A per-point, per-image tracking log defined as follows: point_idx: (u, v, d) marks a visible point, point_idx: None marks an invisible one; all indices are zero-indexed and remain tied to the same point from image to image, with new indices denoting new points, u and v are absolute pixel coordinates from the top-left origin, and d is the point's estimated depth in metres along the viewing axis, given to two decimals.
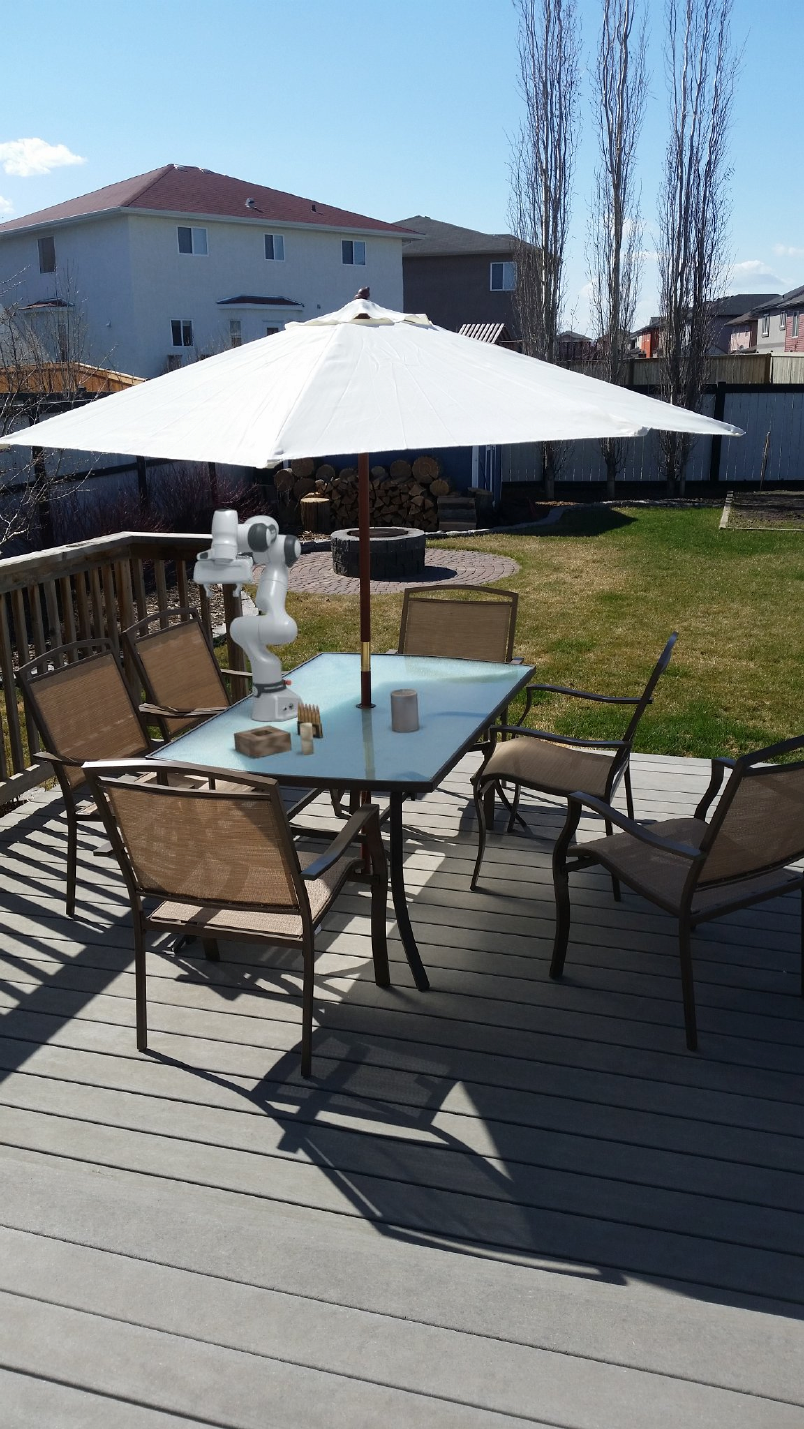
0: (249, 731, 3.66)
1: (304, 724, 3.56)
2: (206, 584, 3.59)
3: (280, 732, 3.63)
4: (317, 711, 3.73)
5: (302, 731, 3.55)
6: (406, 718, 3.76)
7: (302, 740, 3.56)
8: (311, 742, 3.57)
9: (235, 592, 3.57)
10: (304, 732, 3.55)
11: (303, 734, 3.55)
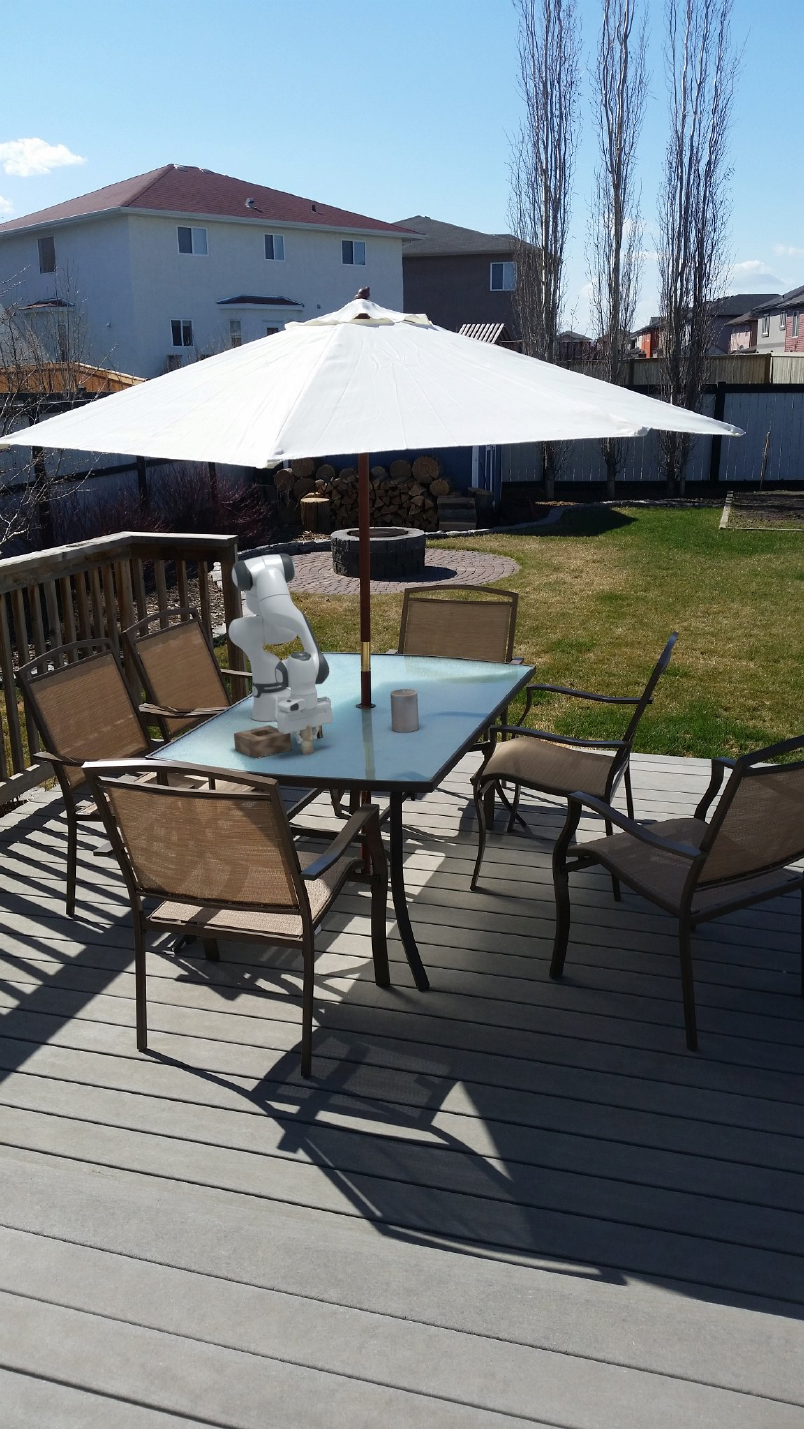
0: (249, 731, 3.66)
1: None
2: (299, 732, 3.54)
3: None
4: None
5: (302, 731, 3.55)
6: (406, 718, 3.76)
7: None
8: (311, 742, 3.57)
9: (315, 736, 3.59)
10: (304, 732, 3.55)
11: (303, 734, 3.55)
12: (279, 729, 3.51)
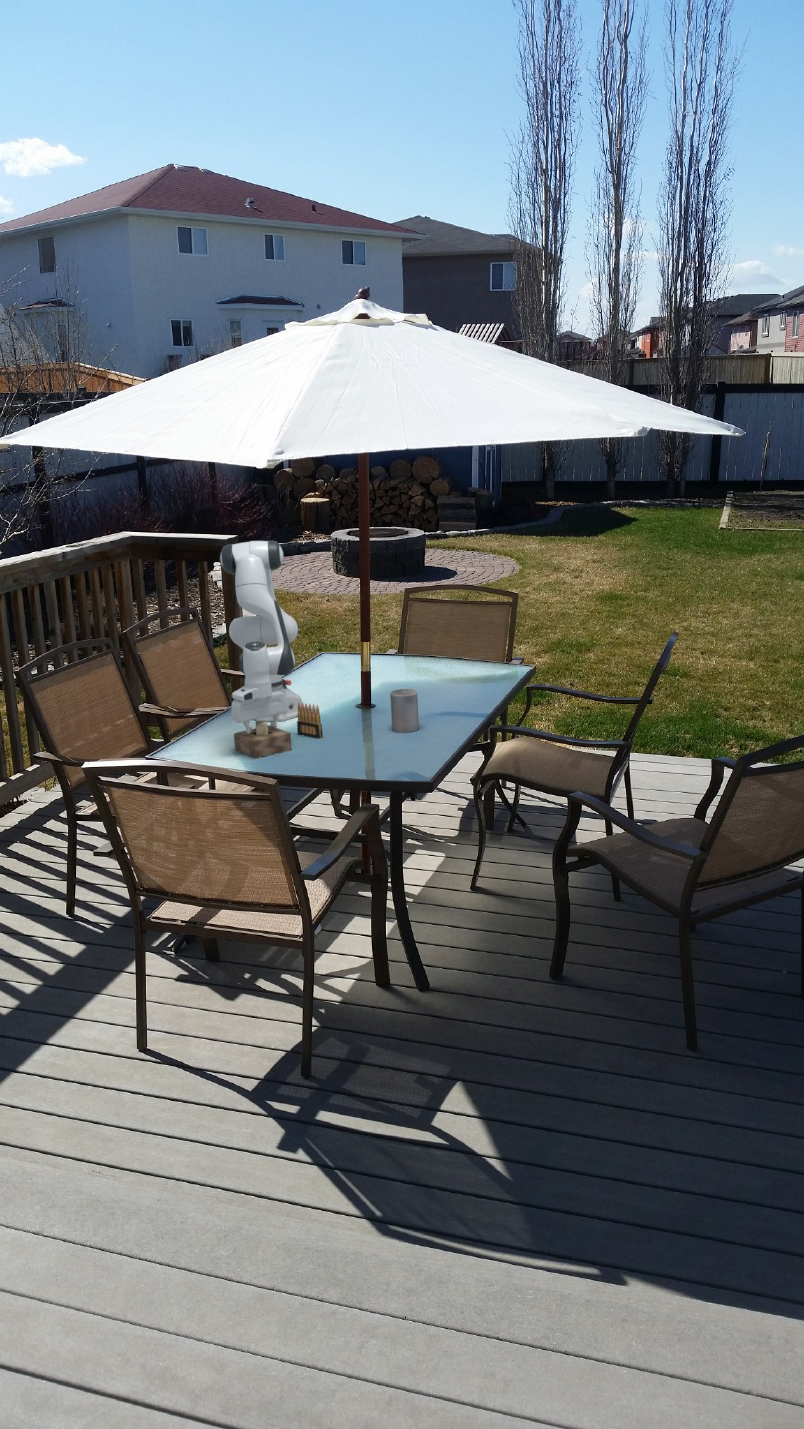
0: None
1: (259, 722, 3.62)
2: (248, 722, 3.58)
3: (280, 732, 3.63)
4: (317, 711, 3.73)
5: (257, 728, 3.61)
6: (406, 718, 3.76)
7: None
8: None
9: (275, 724, 3.65)
10: (259, 729, 3.61)
11: (259, 732, 3.61)
12: (233, 718, 3.56)
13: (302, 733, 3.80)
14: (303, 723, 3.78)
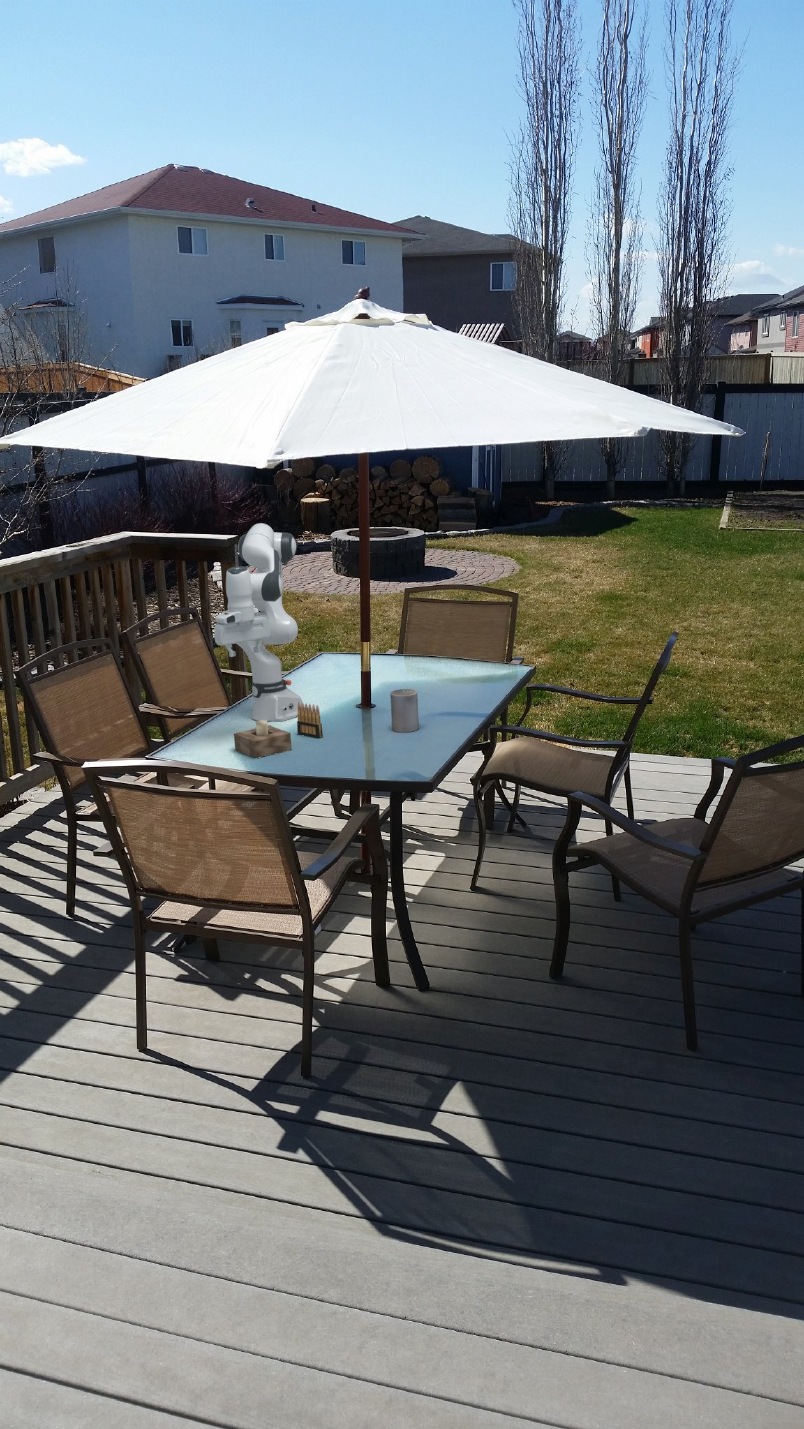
0: (249, 731, 3.66)
1: (259, 722, 3.62)
2: (231, 645, 3.63)
3: (280, 732, 3.63)
4: (317, 711, 3.73)
5: (257, 728, 3.61)
6: (406, 718, 3.76)
7: None
8: None
9: (258, 649, 3.70)
10: (259, 729, 3.61)
11: (259, 732, 3.61)
12: (216, 641, 3.61)
13: (302, 733, 3.80)
14: (303, 723, 3.78)
